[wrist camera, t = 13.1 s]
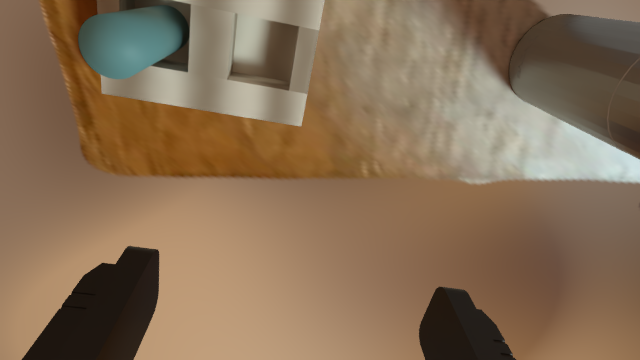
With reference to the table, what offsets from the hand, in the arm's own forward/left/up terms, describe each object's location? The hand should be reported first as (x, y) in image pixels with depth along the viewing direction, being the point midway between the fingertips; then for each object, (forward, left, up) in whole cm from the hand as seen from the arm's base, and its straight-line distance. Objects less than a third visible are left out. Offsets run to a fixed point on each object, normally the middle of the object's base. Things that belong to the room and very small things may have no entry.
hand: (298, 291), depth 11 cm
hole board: (+8, -2, -31) cm, 32 cm away
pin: (+12, -2, -30) cm, 33 cm away
